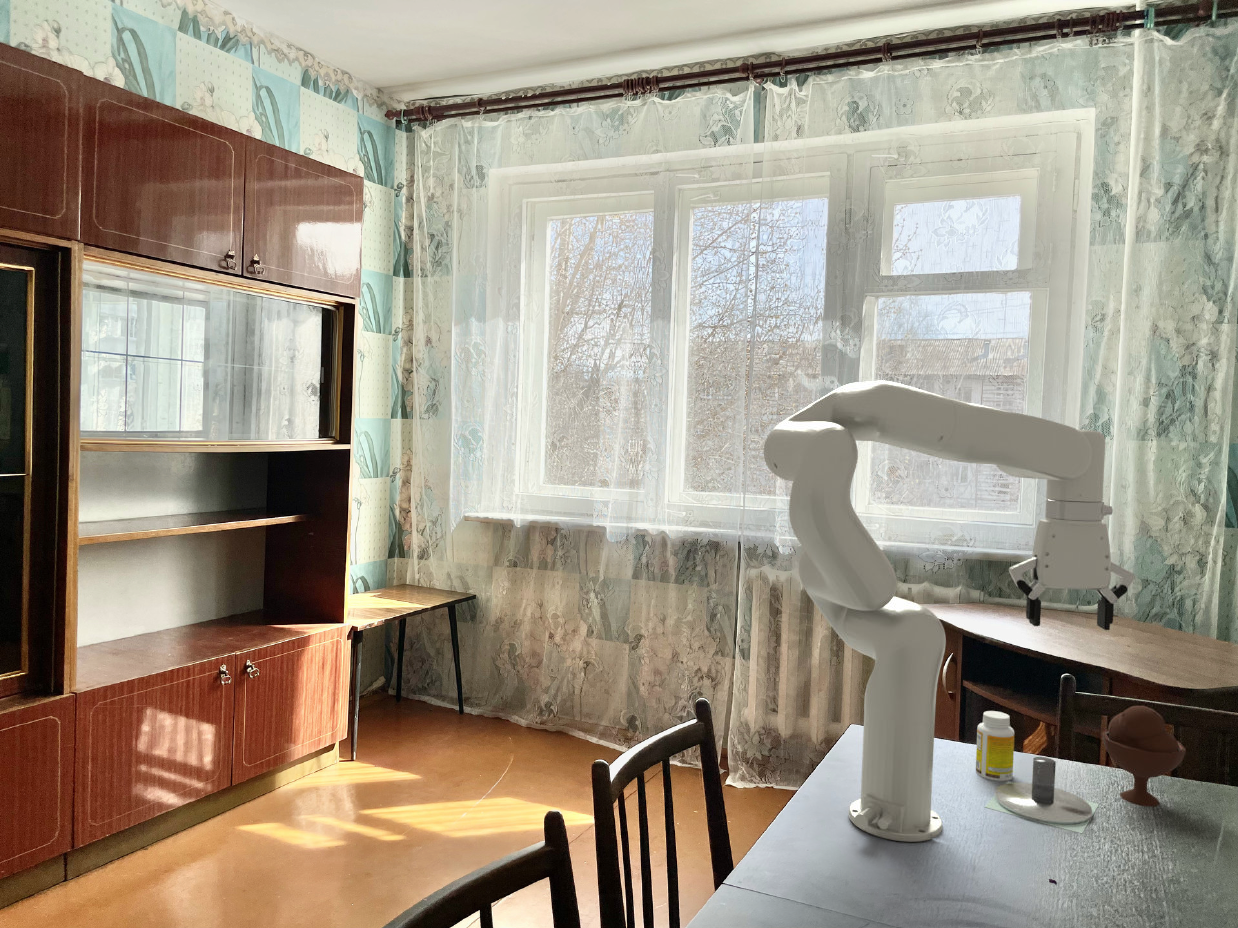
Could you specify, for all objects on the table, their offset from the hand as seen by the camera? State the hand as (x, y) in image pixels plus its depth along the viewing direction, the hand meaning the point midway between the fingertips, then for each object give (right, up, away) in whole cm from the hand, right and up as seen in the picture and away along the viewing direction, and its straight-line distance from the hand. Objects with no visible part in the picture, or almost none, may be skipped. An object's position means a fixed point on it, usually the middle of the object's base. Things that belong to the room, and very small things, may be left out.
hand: (1068, 626), depth 132 cm
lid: (-4, -27, -1) cm, 27 cm away
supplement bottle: (-6, -27, +11) cm, 30 cm away
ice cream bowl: (+12, -28, +3) cm, 30 cm away
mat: (-4, -27, -1) cm, 27 cm away
